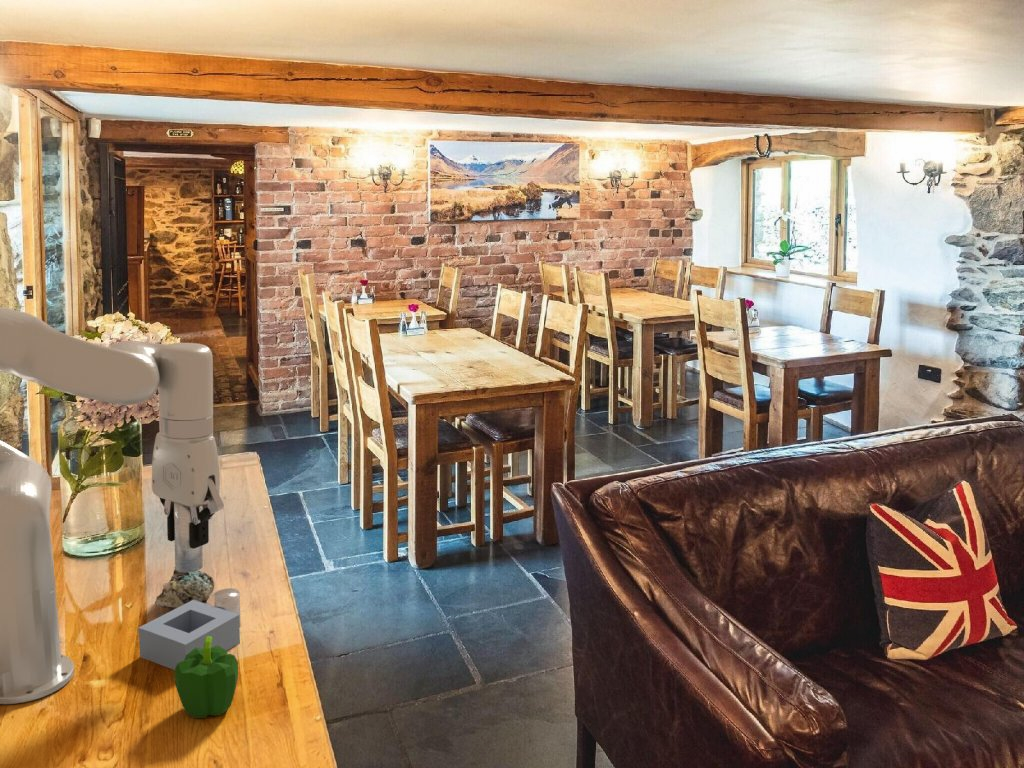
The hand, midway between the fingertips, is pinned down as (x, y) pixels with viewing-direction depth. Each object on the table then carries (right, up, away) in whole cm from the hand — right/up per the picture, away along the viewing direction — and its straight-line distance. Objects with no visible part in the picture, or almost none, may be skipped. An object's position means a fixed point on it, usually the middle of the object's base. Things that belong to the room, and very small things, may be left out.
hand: (188, 540), depth 134 cm
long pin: (0, -4, +1) cm, 4 cm away
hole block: (-1, -18, +5) cm, 19 cm away
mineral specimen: (-8, -15, +20) cm, 26 cm away
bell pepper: (+7, -22, -10) cm, 25 cm away
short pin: (+2, -17, +12) cm, 21 cm away
